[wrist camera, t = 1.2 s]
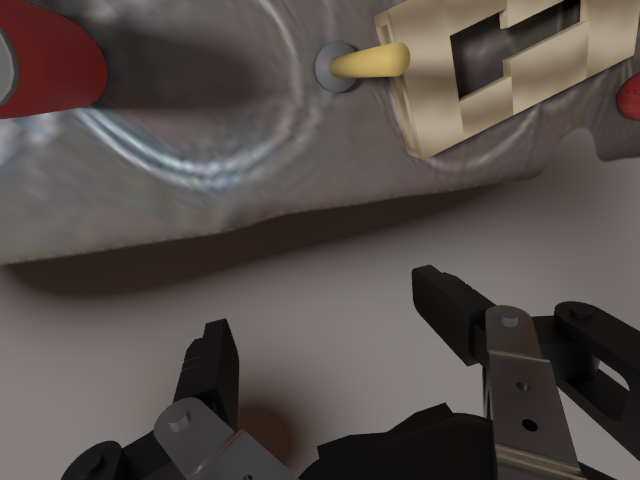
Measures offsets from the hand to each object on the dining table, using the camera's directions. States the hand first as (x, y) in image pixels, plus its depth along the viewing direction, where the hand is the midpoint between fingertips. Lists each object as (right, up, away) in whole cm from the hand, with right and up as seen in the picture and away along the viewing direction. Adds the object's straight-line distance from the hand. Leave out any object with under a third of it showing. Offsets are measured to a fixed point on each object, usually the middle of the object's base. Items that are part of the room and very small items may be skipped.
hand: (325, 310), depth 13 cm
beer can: (-21, +17, +12) cm, 30 cm away
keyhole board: (+19, +24, +20) cm, 37 cm away
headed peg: (+1, +20, +17) cm, 26 cm away
